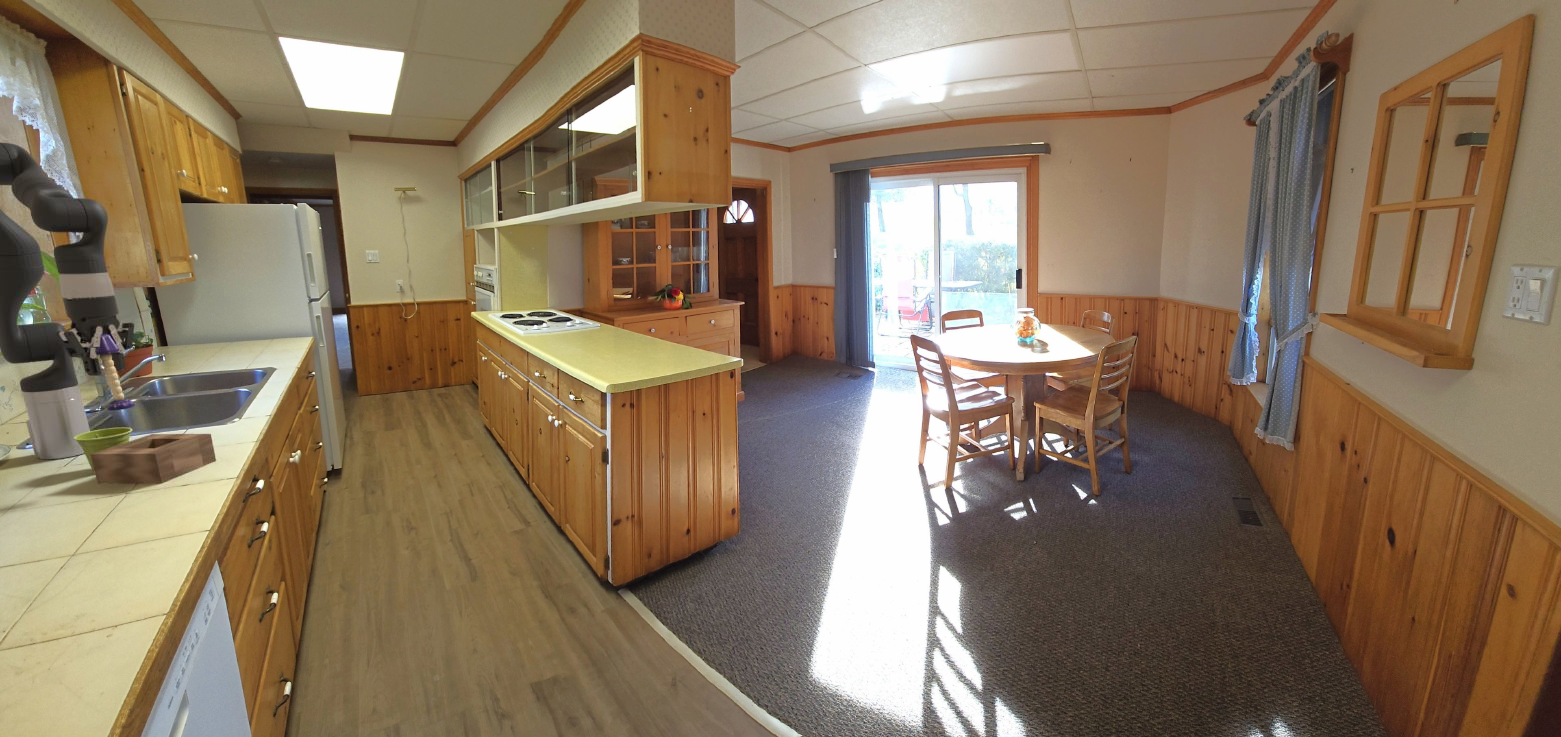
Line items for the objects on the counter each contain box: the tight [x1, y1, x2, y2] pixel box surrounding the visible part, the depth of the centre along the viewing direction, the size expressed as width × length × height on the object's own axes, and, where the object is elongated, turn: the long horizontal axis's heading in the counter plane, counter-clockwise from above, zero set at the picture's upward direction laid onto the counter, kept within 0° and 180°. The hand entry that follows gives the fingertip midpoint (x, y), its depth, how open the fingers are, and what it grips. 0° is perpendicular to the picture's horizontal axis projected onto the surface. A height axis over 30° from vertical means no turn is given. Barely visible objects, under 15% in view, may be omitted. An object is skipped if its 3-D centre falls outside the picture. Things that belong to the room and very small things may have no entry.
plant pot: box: [74, 427, 133, 472], centre depth 146 cm, size 9×9×9 cm
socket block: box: [91, 433, 217, 484], centre depth 144 cm, size 14×14×7 cm
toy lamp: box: [88, 334, 136, 412], centre depth 135 cm, size 5×5×17 cm
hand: (106, 372), depth 135 cm, fingers closed on toy lamp, 4 cm apart
